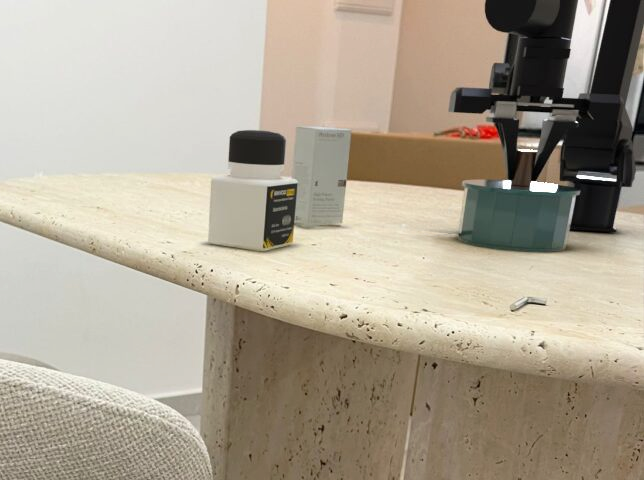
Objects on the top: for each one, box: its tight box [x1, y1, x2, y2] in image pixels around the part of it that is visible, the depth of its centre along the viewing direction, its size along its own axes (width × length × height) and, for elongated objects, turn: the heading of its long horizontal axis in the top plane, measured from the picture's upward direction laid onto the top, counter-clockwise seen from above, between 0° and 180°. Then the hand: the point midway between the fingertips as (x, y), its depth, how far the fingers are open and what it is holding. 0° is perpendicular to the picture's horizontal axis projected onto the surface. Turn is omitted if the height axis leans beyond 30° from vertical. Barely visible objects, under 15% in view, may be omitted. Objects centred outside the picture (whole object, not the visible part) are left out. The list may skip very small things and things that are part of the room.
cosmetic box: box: [291, 125, 352, 229], centre depth 121 cm, size 6×4×12 cm
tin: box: [457, 187, 576, 253], centre depth 115 cm, size 13×13×6 cm
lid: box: [461, 149, 581, 196], centre depth 113 cm, size 14×14×5 cm
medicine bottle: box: [207, 129, 298, 252], centre depth 103 cm, size 7×7×12 cm
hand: (521, 180), depth 113 cm, fingers closed on lid, 2 cm apart
